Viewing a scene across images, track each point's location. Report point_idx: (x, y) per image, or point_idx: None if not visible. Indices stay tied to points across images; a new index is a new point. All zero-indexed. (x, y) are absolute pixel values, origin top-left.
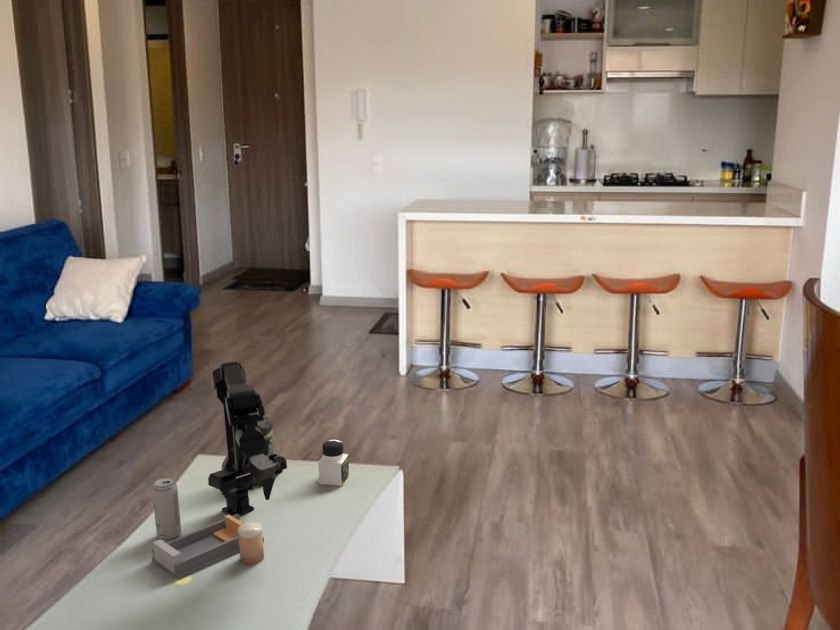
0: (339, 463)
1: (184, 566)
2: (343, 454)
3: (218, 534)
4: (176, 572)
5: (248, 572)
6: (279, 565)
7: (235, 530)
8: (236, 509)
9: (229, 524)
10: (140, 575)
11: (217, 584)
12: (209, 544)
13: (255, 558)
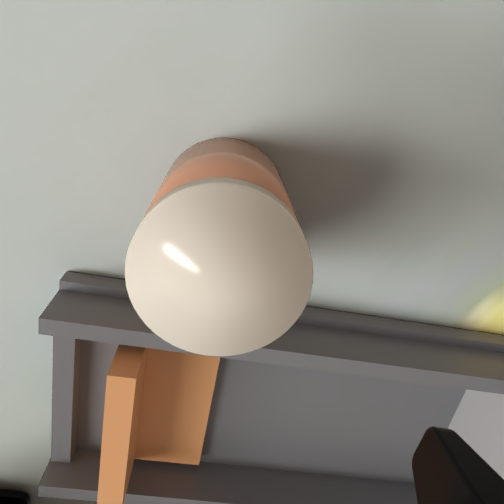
0: None
1: (495, 364)
2: None
3: (194, 443)
4: None
5: (333, 118)
6: (187, 11)
7: (138, 407)
8: (456, 450)
9: (131, 457)
10: None
11: (486, 171)
12: (263, 420)
13: (252, 151)
